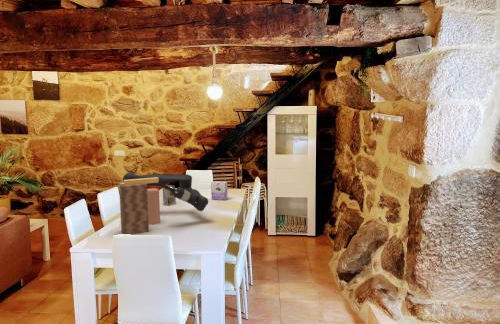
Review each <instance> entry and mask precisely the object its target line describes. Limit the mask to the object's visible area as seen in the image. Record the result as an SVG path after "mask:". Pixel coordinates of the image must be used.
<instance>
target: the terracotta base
mask: <svg viewBox="0 0 500 324" xmlns="http://www.w3.org/2000/svg"><path fill="white" fill-rule="evenodd" d="M147 199H148V223H149V226H150V225H157V224H161V208H160V207H161V206H160V205H161V204H160V202H161V201H160V190H159V189H158V188H157V187H153V188H147Z"/></svg>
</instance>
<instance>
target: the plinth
mask: <svg viewBox="0 0 500 324" xmlns="http://www.w3.org/2000/svg"><path fill="white" fill-rule="evenodd" d="M118 188H119V192H118V193H119V207H120V209H119V210H120V227H121V233H122V234H130V235H135V234H136V233H137V234H142V233H149V232H150V231H149V230H150V225H149V223H148V199H147V189H148V185H147V184H136V185H124V183H119V184H118Z"/></svg>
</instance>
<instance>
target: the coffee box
mask: <svg viewBox="0 0 500 324" xmlns="http://www.w3.org/2000/svg"><path fill="white" fill-rule="evenodd" d="M167 185H168V186H169V185H170V186H172V187H174V188H176V185H173V184H167ZM176 199H177V198H176V197H174V193H171V192H170V191H168V190H167V189H165V188H163V187H162V205H163V206H167V207H170V206H173V205H176V204H177V200H176Z"/></svg>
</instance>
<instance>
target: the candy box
mask: <svg viewBox="0 0 500 324" xmlns="http://www.w3.org/2000/svg"><path fill="white" fill-rule="evenodd" d="M210 184H211V186H210V187H211V188H210V189H211V190H210V191H211V192H210V193H211V200H212V201H227V200H228V197H229V196H228V193H229V192H228V181H223V180H222V181H220V180H218V181H217V180H215V181H214V180H212V181H211V182H210Z"/></svg>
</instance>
